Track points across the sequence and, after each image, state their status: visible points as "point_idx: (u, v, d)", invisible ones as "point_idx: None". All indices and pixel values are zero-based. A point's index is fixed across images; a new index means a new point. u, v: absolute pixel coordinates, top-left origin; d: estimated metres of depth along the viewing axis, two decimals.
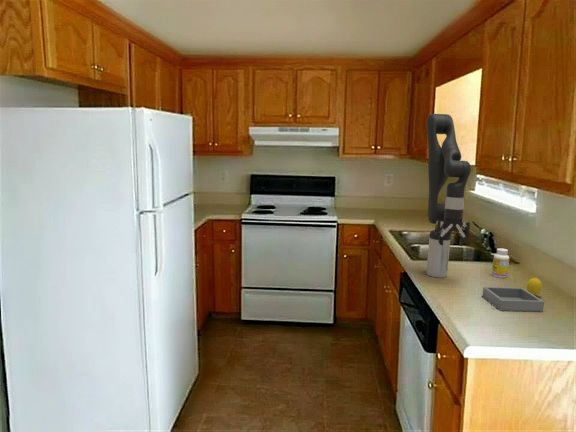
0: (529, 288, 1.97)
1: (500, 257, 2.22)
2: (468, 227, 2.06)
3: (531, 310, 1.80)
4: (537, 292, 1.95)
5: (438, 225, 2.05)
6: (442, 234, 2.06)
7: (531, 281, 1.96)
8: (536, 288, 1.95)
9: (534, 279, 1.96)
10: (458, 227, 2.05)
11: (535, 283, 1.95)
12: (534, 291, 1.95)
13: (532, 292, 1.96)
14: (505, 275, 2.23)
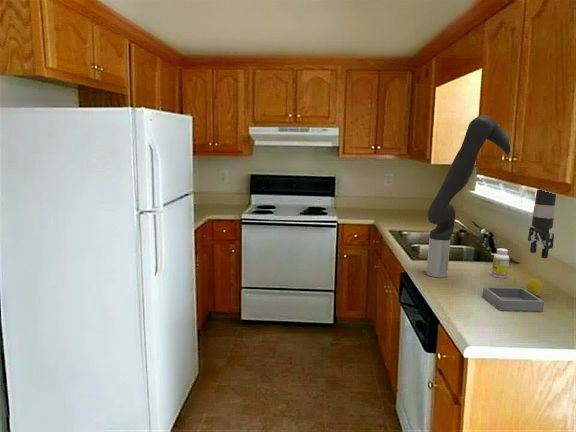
0: (529, 288, 1.97)
1: (500, 257, 2.22)
2: None
3: (531, 310, 1.80)
4: (537, 292, 1.95)
5: None
6: None
7: (531, 281, 1.96)
8: (536, 288, 1.95)
9: (534, 279, 1.96)
10: None
11: (535, 283, 1.95)
12: (534, 291, 1.95)
13: (532, 292, 1.96)
14: (505, 275, 2.23)
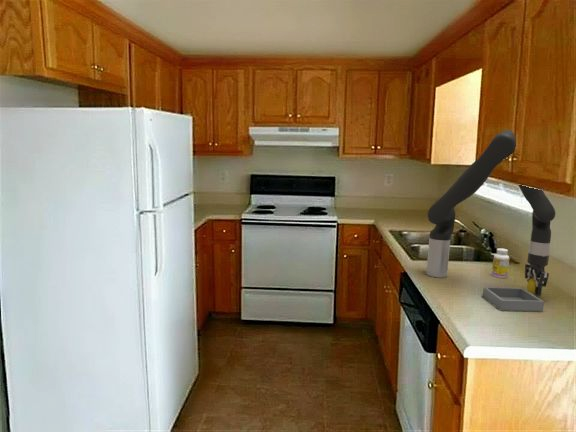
0: (529, 288, 1.97)
1: (500, 257, 2.22)
2: None
3: (531, 310, 1.80)
4: None
5: None
6: None
7: (531, 281, 1.96)
8: None
9: None
10: None
11: (535, 283, 1.95)
12: (534, 291, 1.95)
13: (532, 292, 1.96)
14: (505, 275, 2.23)
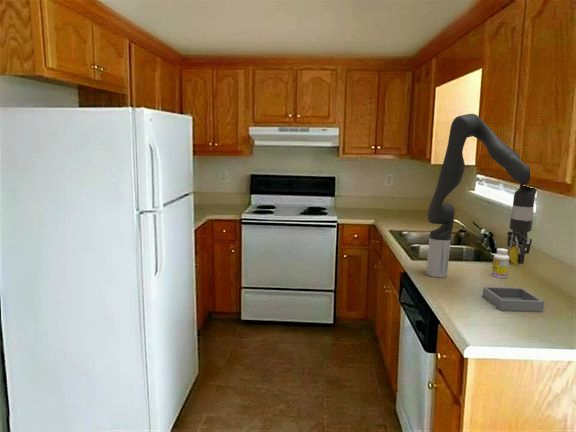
0: (511, 256, 1.84)
1: (500, 257, 2.22)
2: None
3: (531, 310, 1.80)
4: None
5: None
6: None
7: (513, 249, 1.84)
8: None
9: None
10: None
11: None
12: None
13: (514, 260, 1.83)
14: (505, 275, 2.23)
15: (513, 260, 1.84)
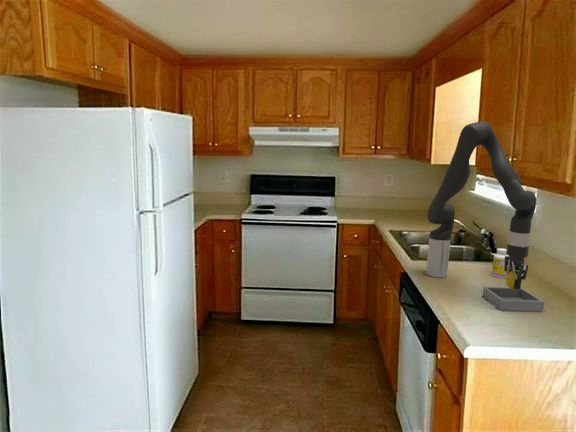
0: (508, 281, 1.85)
1: (500, 257, 2.22)
2: None
3: (531, 310, 1.80)
4: None
5: None
6: None
7: (510, 274, 1.85)
8: None
9: None
10: None
11: (514, 276, 1.84)
12: (513, 284, 1.84)
13: (511, 285, 1.85)
14: (505, 275, 2.23)
15: (510, 285, 1.85)
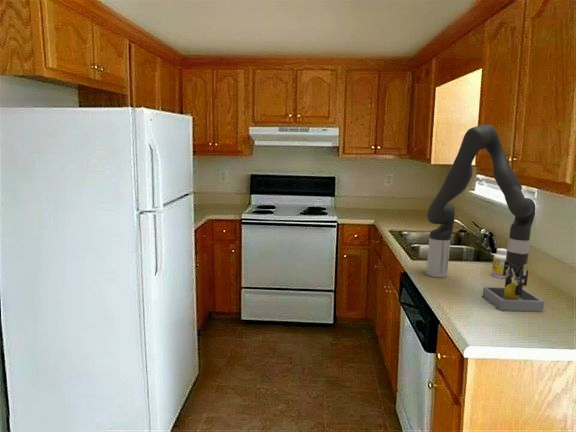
0: (506, 294, 1.87)
1: (500, 257, 2.22)
2: None
3: (531, 310, 1.80)
4: (514, 298, 1.85)
5: None
6: None
7: (508, 287, 1.86)
8: (513, 294, 1.85)
9: (511, 285, 1.86)
10: None
11: (512, 289, 1.85)
12: (511, 297, 1.85)
13: (509, 298, 1.86)
14: None
15: (508, 298, 1.86)
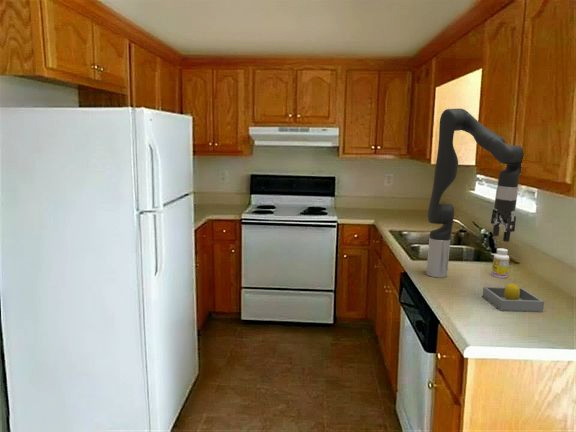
0: (506, 294, 1.87)
1: (500, 257, 2.22)
2: None
3: (531, 310, 1.80)
4: (514, 298, 1.85)
5: None
6: None
7: (508, 287, 1.86)
8: (513, 294, 1.85)
9: (511, 285, 1.86)
10: None
11: (512, 289, 1.85)
12: (511, 297, 1.85)
13: (509, 298, 1.86)
14: (505, 275, 2.23)
15: (508, 298, 1.86)
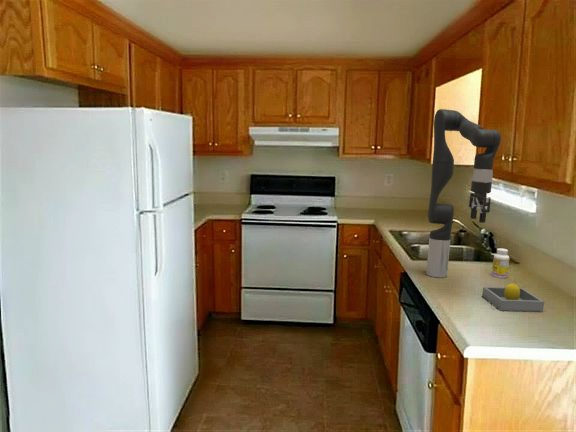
0: (506, 294, 1.87)
1: (500, 257, 2.22)
2: None
3: (531, 310, 1.80)
4: (514, 298, 1.85)
5: None
6: None
7: (508, 287, 1.86)
8: (513, 294, 1.85)
9: (512, 285, 1.86)
10: None
11: (512, 289, 1.85)
12: (511, 297, 1.85)
13: (509, 298, 1.86)
14: (505, 275, 2.23)
15: (508, 298, 1.86)
